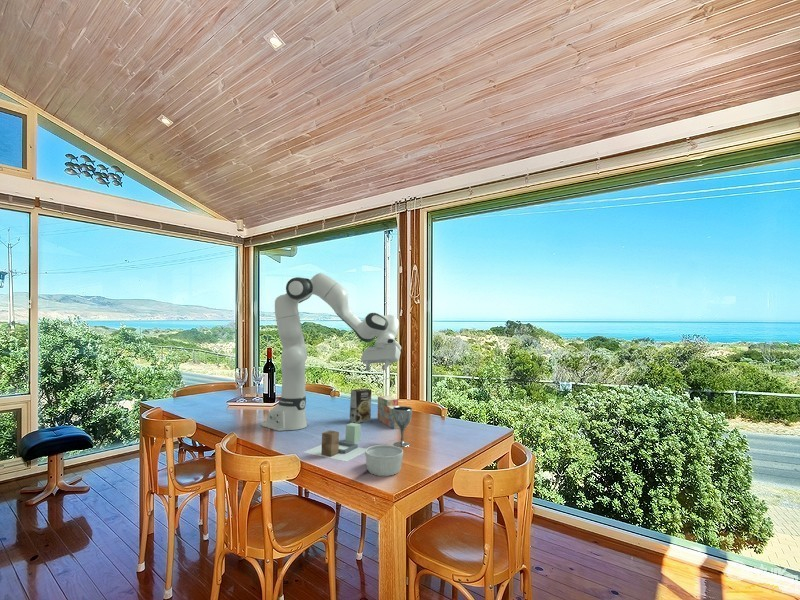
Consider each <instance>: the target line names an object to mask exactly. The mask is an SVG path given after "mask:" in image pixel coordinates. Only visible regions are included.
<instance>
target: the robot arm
mask: <svg viewBox="0 0 800 600" xmlns="http://www.w3.org/2000/svg"><path fill="white" fill-rule="evenodd" d="M285 291H286V293H284V294H281V295H278V296H277V297H276V298H275V299H274V314H275V316H274V317H275V323H276V326H277V333H278V337H279V340H280V343H281V347H282V353H281V355H280V362H281V363H280V369H281V395H280V397H278V398H276V401H278V402H277V403H278V404H277V405H276V406H274V407H273V408H272V409H271V410H269V411H268V412H267V415H266V419H265V421H263V422H261V423H260V426H262V427H263V428H264V427H265V428H268V429H270V430H275V431H278V432H280V431H296V430H297V431H298V430H302V429H304V428H307V427H308V421H307V416H306V403H307V399H306V398H307V397H306V361H307V359H308V352H307V351H308V350H307V347H306V341H305V338H304V334H303V328H302V324H301V323H302V322H301V318H300V313H299V304H301V303H303V302H304V301H307V300H308V299H310V298H311V297H312V295H315V296H317V297H318V298H320V299H321V300H322V301H324V302H325V303H326V304H327V305H328V306H330V308H331V309H332V311H334V313H335V314H336V315H337V317H339V318H340V319H341V320H342V321H343V323H345V324H346V325H347V326H348V327H349V328H350V329H351V330H352V331H353V332H354V333H355V335H356V337H357V338H358V339H359V340H360V341H362V342H365V343H370V342H373V341H374V340H375V342H374V345H370V346H368V347H366V348H365V349H364V351H363V352H362V354H361V356H360V361H361V362H362V363H363V364H365V370H366V372H370V371H371V368H372V367H371V365H372V364H383V365H382V367H381V370H383V371H386V370H388V367H389V366H390V365H391V363H397V362H399V360H400V357H401V353H402V352H401V350H402V346H401V345H400V343H399V342H398V341H397V340H396V338H397V336H398V332H399V329H400V321H399V320H398V318H397V317H396V316H394V315H393V314H387V315H382V314H379V313H376V312H370V313H368V314H367V315H366V316H365V318H364V319H363V320H361V319H360V318H359V317H358V316H357V315H356V314H355V313H354V312H352V311H351V309H350V307H349V296H348V295H349V294H348V291H347V290H346V289H345V287H343V286H342V285H341V284H340V283H339V282H337V281H336V280H335V279H333V278H332V277H330V276H328V275H327V274H324V273H321V272H320V273H316V274H315V275H313V277H311V279H310V278H305V277H299V276H296V277H293V278H290V279H289V280H288V281H287V283H286V286H285ZM375 338H376V339H375Z"/></svg>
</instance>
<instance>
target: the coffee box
mask: <svg viewBox="0 0 800 600" xmlns="http://www.w3.org/2000/svg"><path fill="white" fill-rule="evenodd" d="M349 406H350V407H349V422H351V421H352V422H351V423H353V422H355V423H357V424H361V423H360V422H363V423H367V422H366V421H369V422H371V421H372V420H371V418H372V417H371V415H372V414H371V413H372V389H370V388H369V389H368V388H357V389H356V388H355V389H350V405H349Z"/></svg>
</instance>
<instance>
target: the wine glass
mask: <svg viewBox="0 0 800 600" xmlns="http://www.w3.org/2000/svg"><path fill="white" fill-rule="evenodd" d="M393 416H394V421H395V423H396V424H397V425H398V427H399V428H398V429H399V430H400V436H401V437H400V438H401V439H400V441H395V442H394V443H393V446H394V445H395V446H398V447H400V448H406V447H407V446H408V447H410V446H411V443H410V442H408V441H407V442H406V441H404V432H405V429H406V428H407V427H408V426H409V424H410V423H411V421H412V418H413V417H412V416H413V408H412V407H410V406H405V405H402V406H401V405H398V407H394V408H393ZM409 443H410V444H409ZM409 445H410V446H409ZM408 447H407V448H408Z"/></svg>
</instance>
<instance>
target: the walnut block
mask: <svg viewBox="0 0 800 600" xmlns="http://www.w3.org/2000/svg"><path fill="white" fill-rule="evenodd" d="M339 441H340V432H339V431H335V430H330V429H329V430H326V431H324V432H322V433H321V445H322V451H321V455H325V456H329V457H332V456H334V455H336V454H338V450H339Z"/></svg>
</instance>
